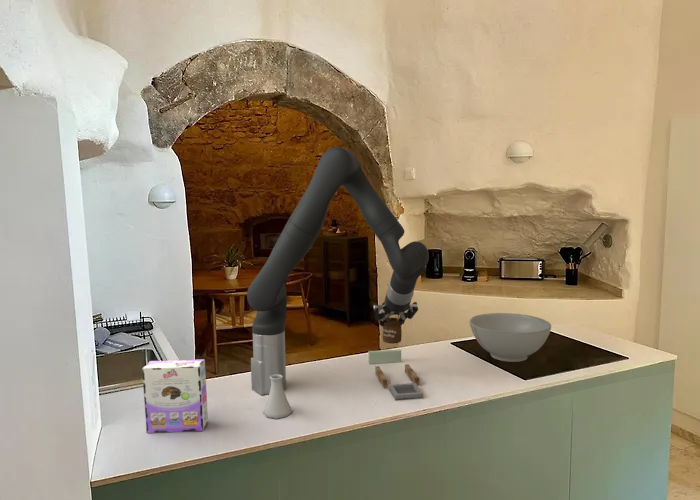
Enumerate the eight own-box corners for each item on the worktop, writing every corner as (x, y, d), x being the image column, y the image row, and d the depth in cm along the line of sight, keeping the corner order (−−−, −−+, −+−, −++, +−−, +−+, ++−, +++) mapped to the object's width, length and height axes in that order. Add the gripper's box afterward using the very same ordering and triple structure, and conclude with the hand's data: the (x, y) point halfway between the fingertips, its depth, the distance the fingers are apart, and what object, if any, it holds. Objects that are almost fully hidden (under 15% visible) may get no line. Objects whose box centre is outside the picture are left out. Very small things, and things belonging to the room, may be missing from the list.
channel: (419, 385, 150) (419, 377, 149) (383, 388, 148) (383, 380, 148) (408, 371, 161) (408, 364, 161) (375, 374, 160) (375, 366, 160)
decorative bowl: (453, 355, 177) (453, 321, 176) (497, 340, 194) (498, 309, 193) (522, 375, 157) (523, 337, 155) (565, 357, 174) (566, 322, 172)
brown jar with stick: (388, 337, 163) (388, 300, 162) (405, 340, 159) (406, 303, 158) (378, 341, 158) (378, 304, 157) (396, 345, 154) (396, 306, 153)
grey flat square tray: (423, 398, 141) (423, 393, 140) (395, 400, 139) (395, 395, 139) (415, 387, 148) (415, 382, 148) (388, 389, 147) (388, 384, 147)
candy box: (209, 421, 128) (205, 358, 126) (203, 432, 122) (199, 366, 121) (153, 422, 128) (150, 359, 126) (145, 433, 122) (141, 367, 120)
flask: (278, 405, 137) (277, 369, 136) (297, 412, 133) (296, 375, 132) (257, 414, 132) (256, 377, 131) (276, 422, 127) (275, 383, 126)
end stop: (401, 362, 171) (401, 350, 170) (369, 364, 169) (369, 352, 169) (400, 360, 172) (400, 349, 172) (368, 362, 171) (368, 351, 170)
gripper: (421, 282, 150) (410, 312, 163) (373, 283, 148) (366, 314, 161) (426, 303, 146) (414, 333, 159) (377, 305, 144) (369, 335, 157)
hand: (390, 323), depth 160 cm, fingers closed on brown jar with stick, 5 cm apart
